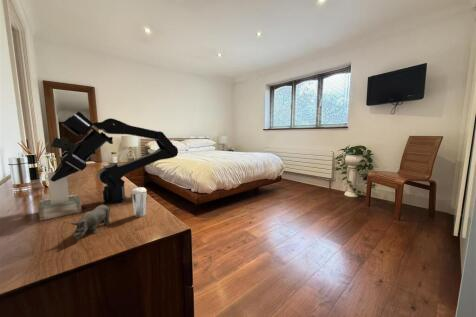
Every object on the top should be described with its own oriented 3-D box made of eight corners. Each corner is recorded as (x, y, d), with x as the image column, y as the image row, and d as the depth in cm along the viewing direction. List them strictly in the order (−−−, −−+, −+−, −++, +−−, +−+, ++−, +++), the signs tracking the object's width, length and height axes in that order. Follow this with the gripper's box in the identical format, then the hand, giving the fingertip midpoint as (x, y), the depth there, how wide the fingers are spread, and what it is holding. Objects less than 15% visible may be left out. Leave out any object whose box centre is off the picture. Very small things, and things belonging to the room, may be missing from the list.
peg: (69, 207, 70) (65, 171, 69) (70, 210, 67) (66, 173, 65) (51, 210, 67) (47, 173, 66) (52, 213, 64) (47, 174, 62)
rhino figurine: (62, 246, 46) (60, 222, 45) (100, 221, 59) (99, 202, 59) (81, 246, 46) (78, 221, 45) (114, 220, 60) (113, 201, 59)
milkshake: (133, 212, 65) (131, 183, 64) (150, 212, 66) (148, 183, 65) (127, 218, 61) (124, 187, 60) (144, 217, 61) (142, 186, 60)
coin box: (78, 204, 74) (77, 194, 74) (81, 211, 67) (80, 200, 66) (41, 211, 67) (40, 200, 67) (39, 220, 60) (38, 207, 60)
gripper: (66, 129, 73) (27, 161, 67) (69, 127, 60) (20, 167, 53) (94, 149, 79) (60, 180, 73) (102, 151, 66) (62, 190, 60)
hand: (51, 179), depth 65 cm, fingers open, 6 cm apart
